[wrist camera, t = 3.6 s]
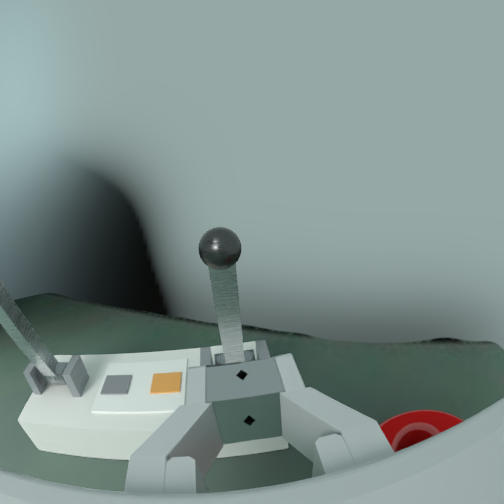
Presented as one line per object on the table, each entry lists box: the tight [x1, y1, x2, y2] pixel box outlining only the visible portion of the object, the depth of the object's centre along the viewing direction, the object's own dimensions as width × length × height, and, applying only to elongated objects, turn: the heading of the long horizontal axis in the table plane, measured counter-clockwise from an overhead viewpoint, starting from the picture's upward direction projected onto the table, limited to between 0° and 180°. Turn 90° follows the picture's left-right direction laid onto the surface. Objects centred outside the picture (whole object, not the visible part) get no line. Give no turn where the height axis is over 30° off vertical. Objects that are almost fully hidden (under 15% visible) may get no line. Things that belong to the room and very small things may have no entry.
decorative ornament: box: [379, 410, 463, 452], centre depth 15 cm, size 10×10×3 cm
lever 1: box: [0, 279, 68, 385], centre depth 18 cm, size 3×2×13 cm
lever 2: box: [199, 227, 255, 365], centre depth 20 cm, size 3×2×13 cm
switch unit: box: [18, 340, 288, 460], centre depth 23 cm, size 22×10×6 cm, turn 97°
